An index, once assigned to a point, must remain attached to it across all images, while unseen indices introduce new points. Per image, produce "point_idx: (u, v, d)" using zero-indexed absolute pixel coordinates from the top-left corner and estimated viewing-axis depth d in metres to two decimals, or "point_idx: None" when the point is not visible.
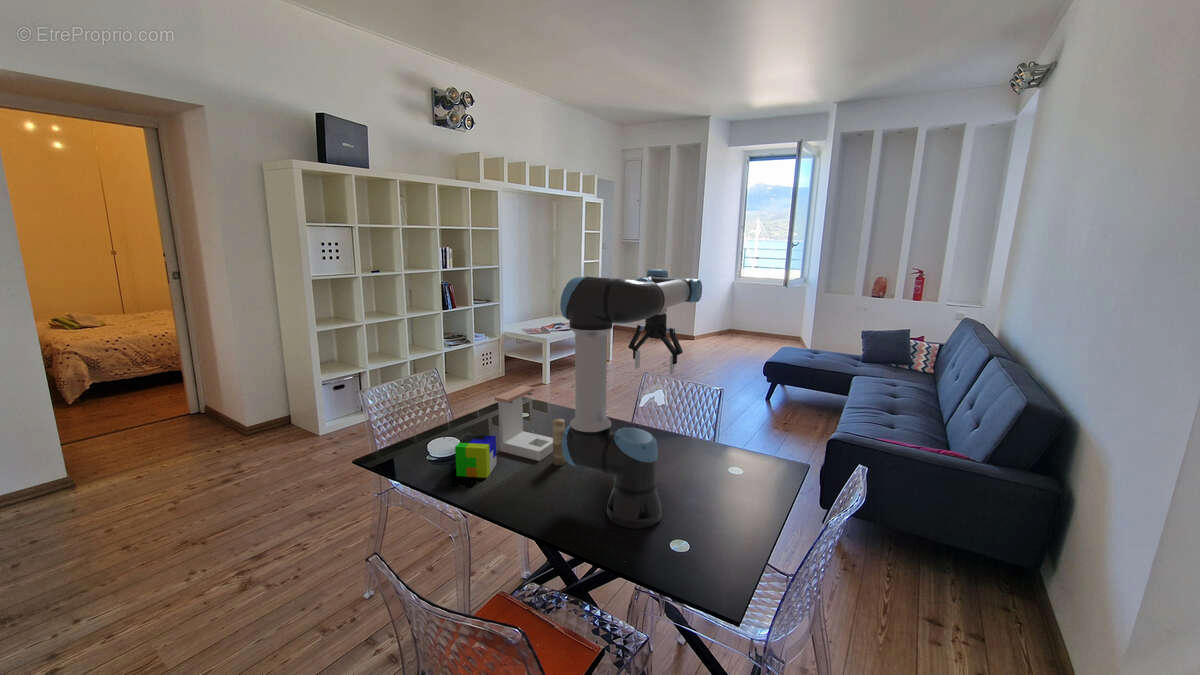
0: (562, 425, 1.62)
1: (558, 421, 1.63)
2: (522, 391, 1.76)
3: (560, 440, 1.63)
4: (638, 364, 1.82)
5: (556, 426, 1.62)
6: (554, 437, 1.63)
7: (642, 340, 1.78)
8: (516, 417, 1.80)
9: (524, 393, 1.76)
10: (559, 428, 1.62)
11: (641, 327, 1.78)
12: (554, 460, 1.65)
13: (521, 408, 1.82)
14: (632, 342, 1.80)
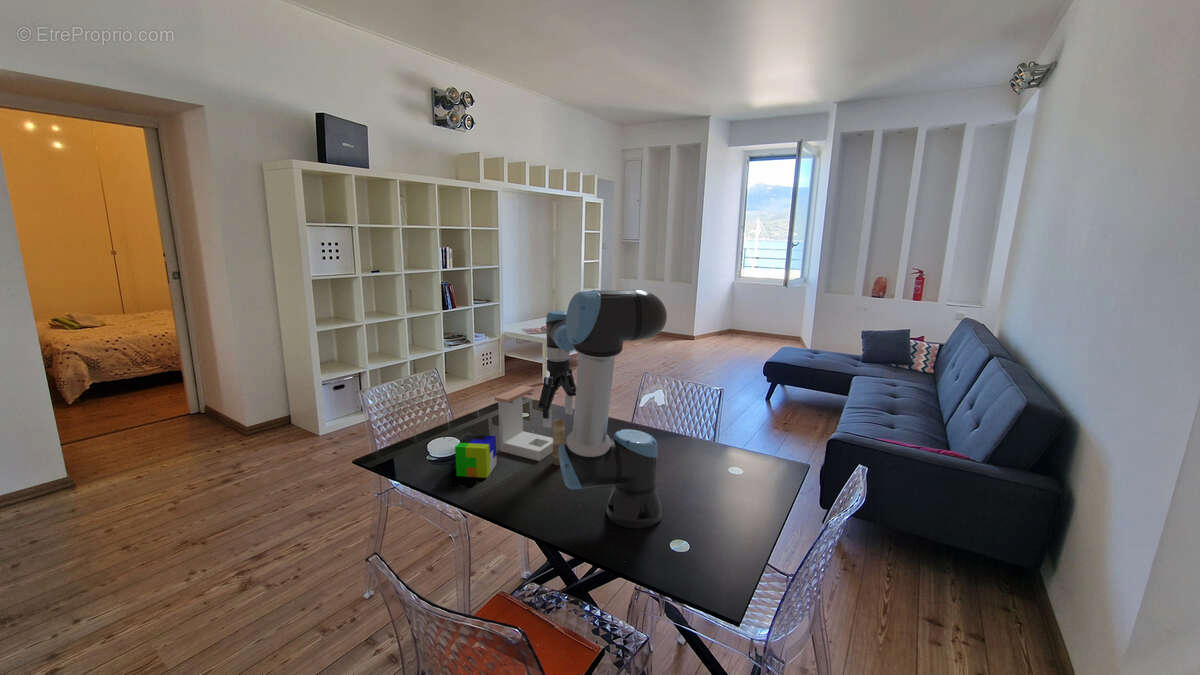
0: (562, 425, 1.62)
1: (558, 421, 1.63)
2: (522, 391, 1.76)
3: (560, 440, 1.63)
4: (568, 410, 1.69)
5: (556, 426, 1.62)
6: (554, 437, 1.63)
7: None
8: (516, 417, 1.80)
9: (524, 393, 1.76)
10: (559, 427, 1.62)
11: None
12: (554, 460, 1.65)
13: (521, 408, 1.82)
14: None
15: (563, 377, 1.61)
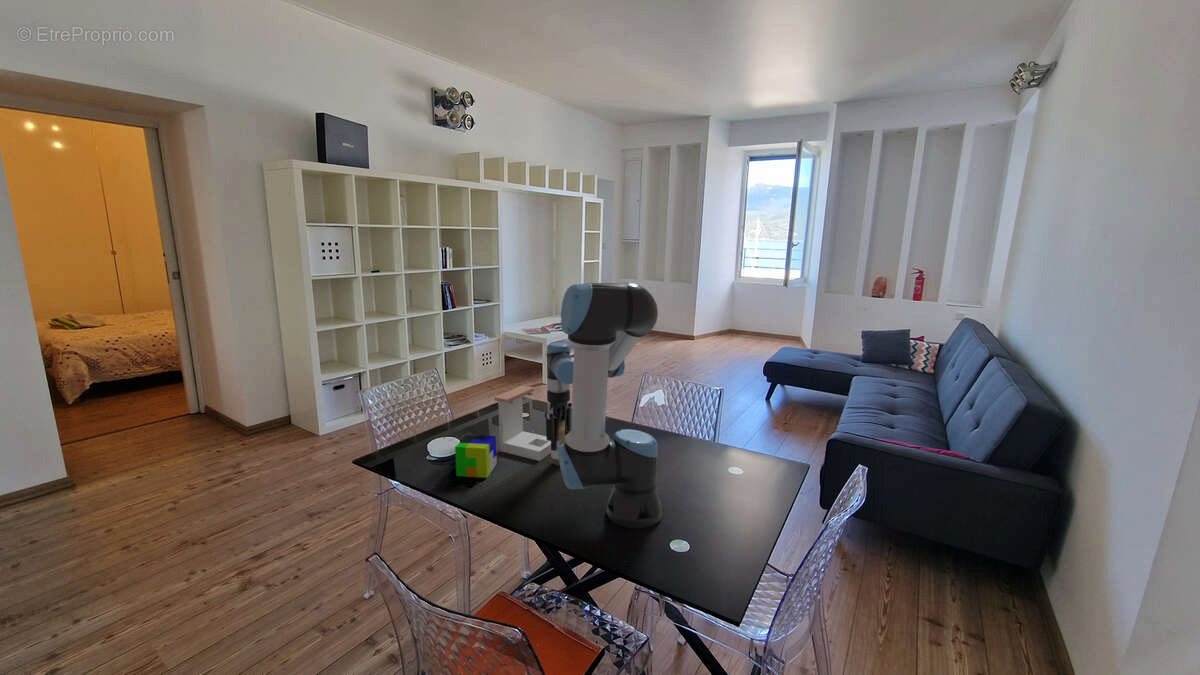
0: (562, 425, 1.62)
1: None
2: (522, 391, 1.76)
3: (560, 440, 1.63)
4: None
5: None
6: None
7: None
8: (516, 417, 1.80)
9: (524, 393, 1.76)
10: (559, 427, 1.62)
11: None
12: (554, 460, 1.65)
13: (521, 408, 1.82)
14: None
15: (563, 406, 1.63)
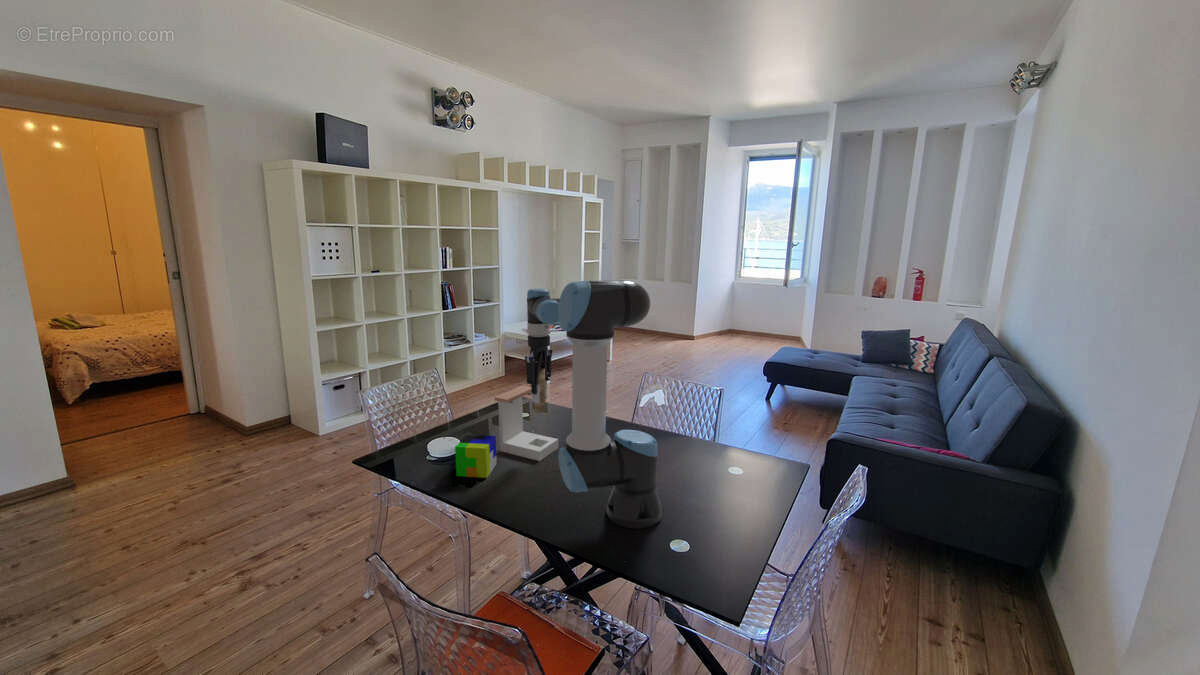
0: (542, 373, 1.67)
1: None
2: (522, 391, 1.76)
3: (540, 388, 1.68)
4: None
5: None
6: None
7: None
8: (516, 417, 1.80)
9: (524, 393, 1.76)
10: (539, 375, 1.67)
11: None
12: (535, 407, 1.70)
13: (521, 408, 1.82)
14: None
15: (544, 352, 1.67)
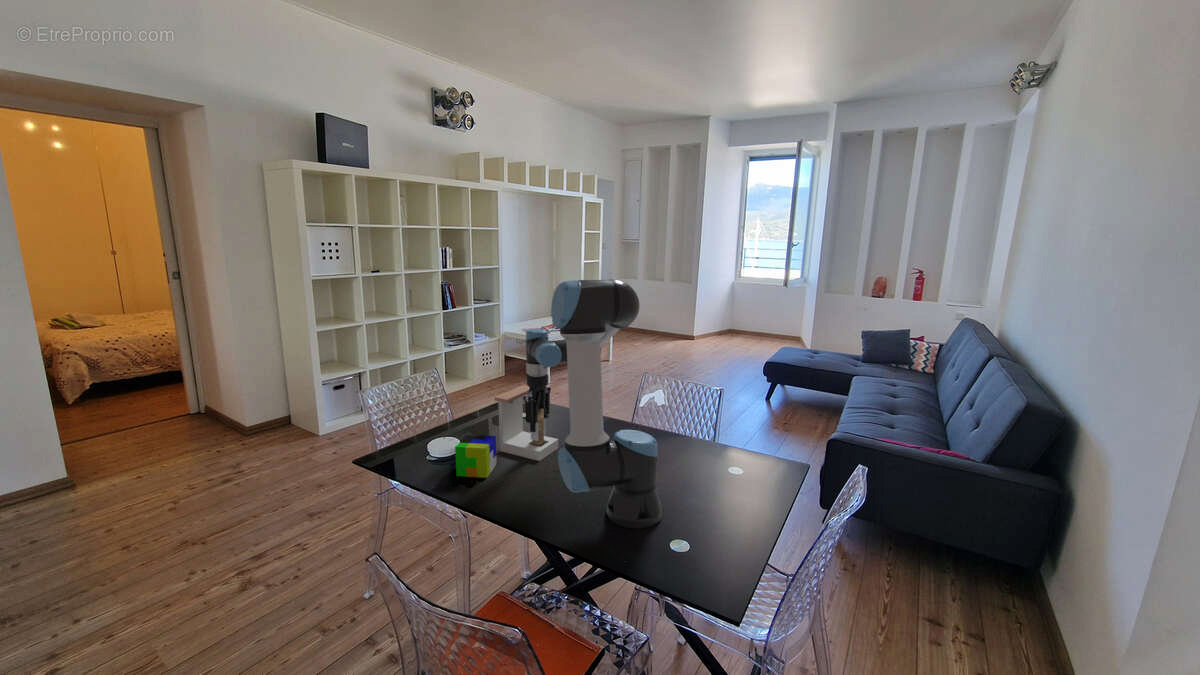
0: (541, 413, 1.71)
1: None
2: (522, 391, 1.76)
3: (539, 427, 1.71)
4: None
5: None
6: None
7: None
8: (516, 417, 1.80)
9: (524, 393, 1.76)
10: (537, 415, 1.70)
11: None
12: None
13: (521, 408, 1.82)
14: None
15: (542, 390, 1.70)
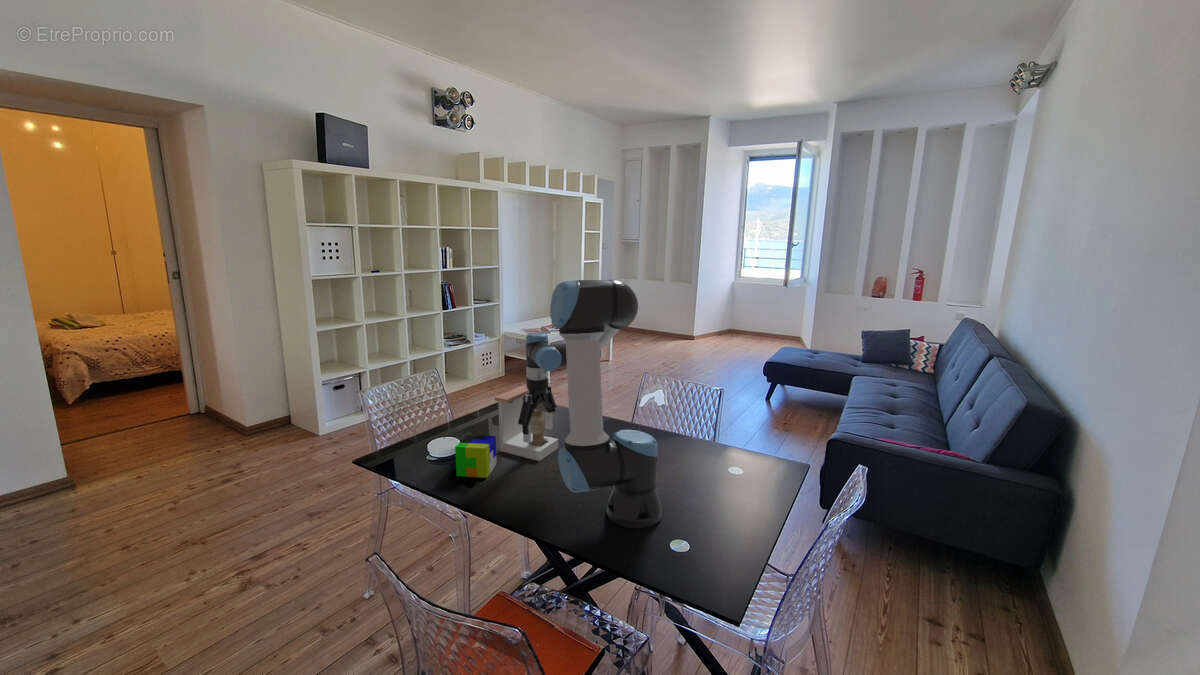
0: (541, 416, 1.71)
1: (537, 412, 1.72)
2: (522, 391, 1.76)
3: (539, 430, 1.71)
4: (548, 426, 1.79)
5: (535, 417, 1.70)
6: (533, 427, 1.72)
7: None
8: (516, 417, 1.80)
9: (524, 393, 1.76)
10: (537, 418, 1.70)
11: None
12: None
13: (521, 408, 1.82)
14: None
15: (542, 395, 1.71)
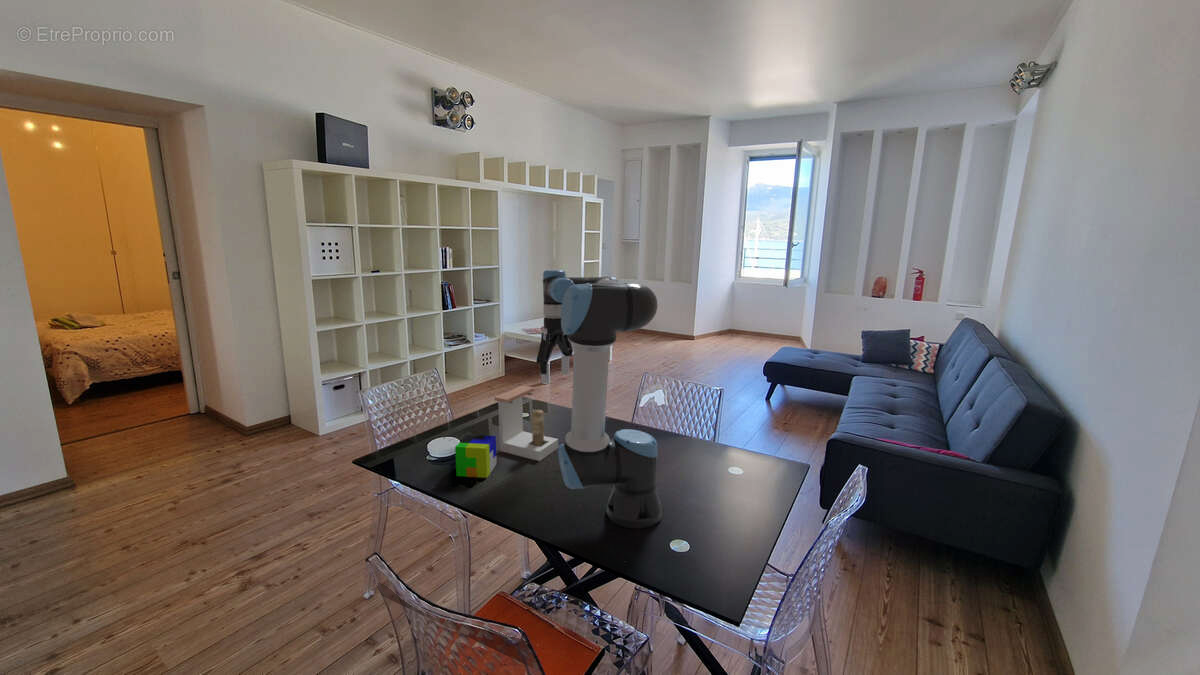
0: (541, 416, 1.71)
1: (537, 412, 1.71)
2: (522, 391, 1.76)
3: (539, 430, 1.71)
4: (565, 370, 1.72)
5: (535, 417, 1.70)
6: (533, 427, 1.72)
7: None
8: (516, 417, 1.80)
9: (524, 393, 1.76)
10: (537, 418, 1.70)
11: None
12: None
13: (521, 408, 1.82)
14: None
15: (560, 335, 1.64)
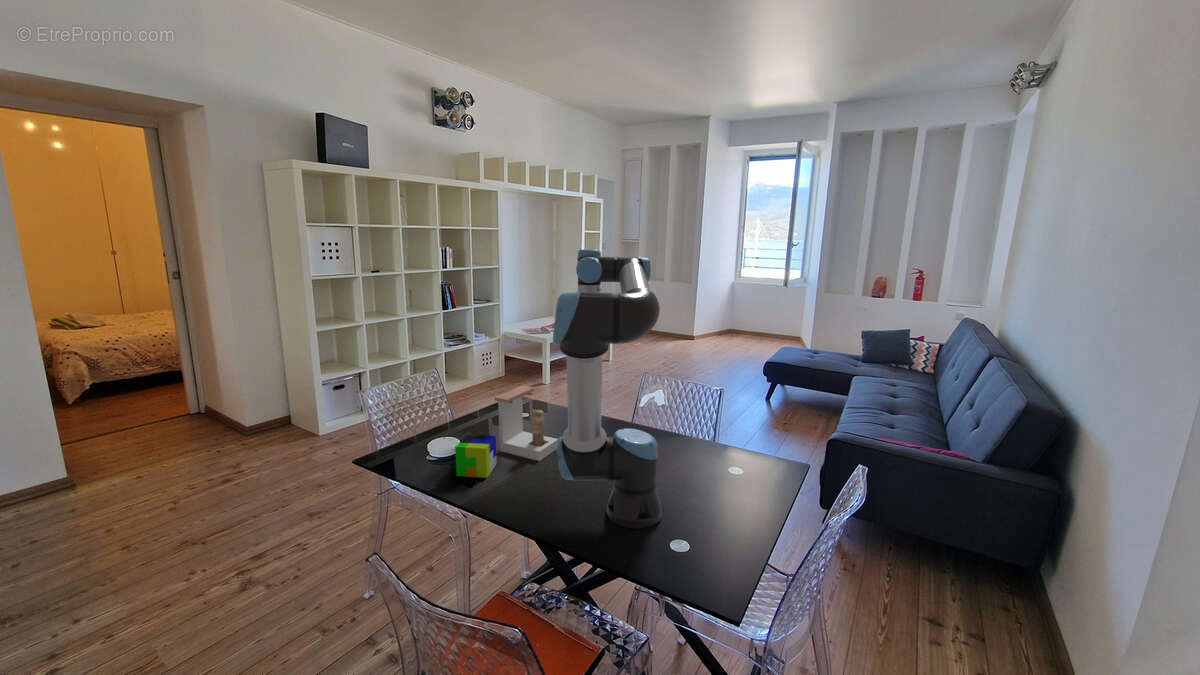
0: (541, 416, 1.71)
1: (537, 412, 1.71)
2: (522, 391, 1.76)
3: (539, 430, 1.71)
4: None
5: (535, 417, 1.70)
6: (533, 427, 1.72)
7: None
8: (516, 417, 1.80)
9: (524, 393, 1.76)
10: (537, 418, 1.70)
11: None
12: None
13: (521, 408, 1.82)
14: None
15: None
